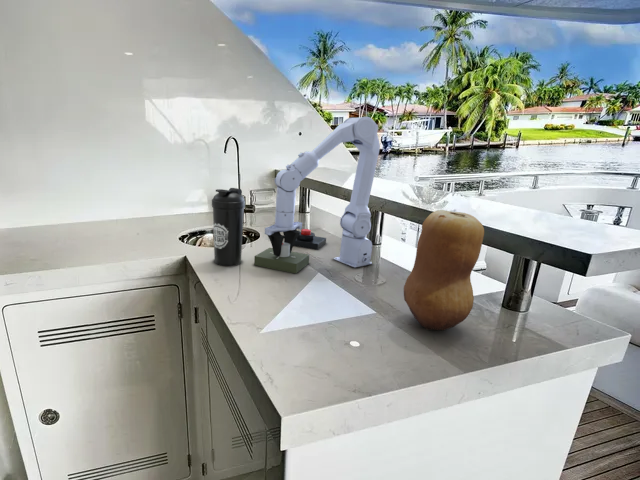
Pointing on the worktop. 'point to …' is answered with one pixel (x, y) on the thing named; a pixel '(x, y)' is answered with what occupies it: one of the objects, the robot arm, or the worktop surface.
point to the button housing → (309, 241)
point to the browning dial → (285, 250)
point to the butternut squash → (444, 269)
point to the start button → (306, 232)
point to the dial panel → (282, 261)
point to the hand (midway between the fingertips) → (282, 253)
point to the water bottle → (228, 226)
